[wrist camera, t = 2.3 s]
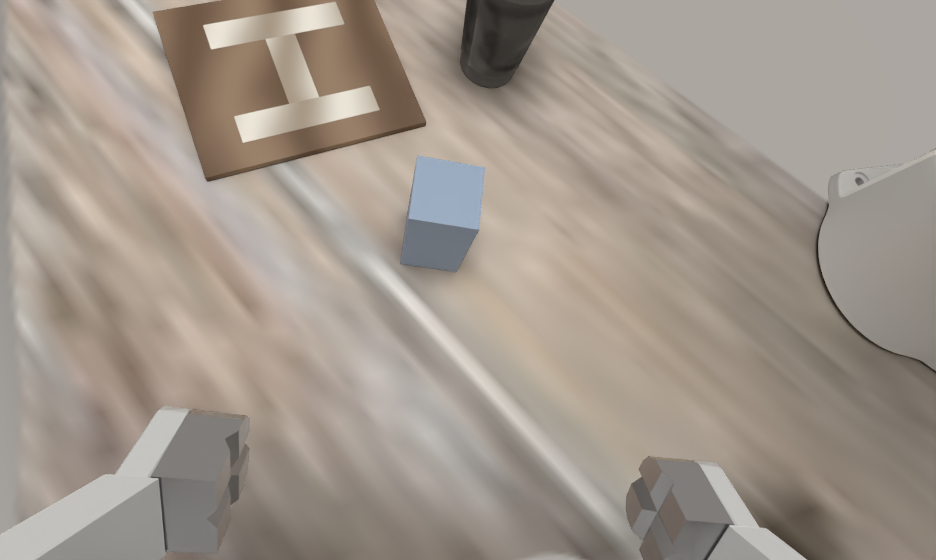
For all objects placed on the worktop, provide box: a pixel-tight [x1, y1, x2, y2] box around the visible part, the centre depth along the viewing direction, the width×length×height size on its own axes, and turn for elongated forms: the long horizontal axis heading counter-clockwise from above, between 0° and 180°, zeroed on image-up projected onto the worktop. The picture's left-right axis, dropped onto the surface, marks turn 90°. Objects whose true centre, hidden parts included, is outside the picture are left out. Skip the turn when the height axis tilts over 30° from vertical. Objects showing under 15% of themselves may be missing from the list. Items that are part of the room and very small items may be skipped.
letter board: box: [153, 0, 426, 181], centre depth 39 cm, size 16×14×1 cm
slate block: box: [400, 155, 485, 272], centre depth 33 cm, size 4×4×8 cm
